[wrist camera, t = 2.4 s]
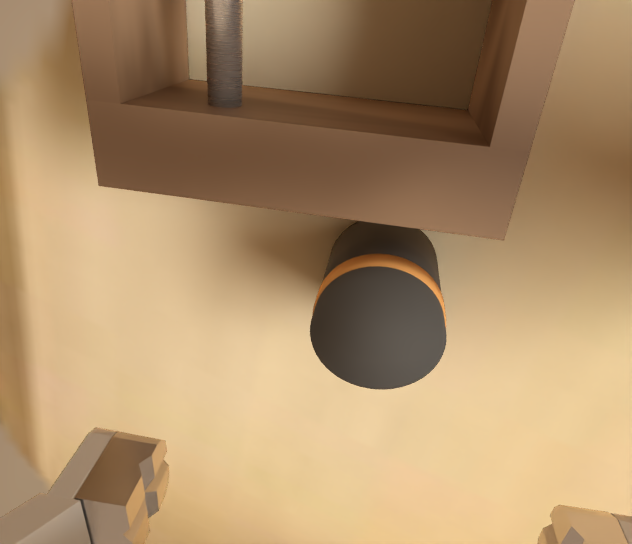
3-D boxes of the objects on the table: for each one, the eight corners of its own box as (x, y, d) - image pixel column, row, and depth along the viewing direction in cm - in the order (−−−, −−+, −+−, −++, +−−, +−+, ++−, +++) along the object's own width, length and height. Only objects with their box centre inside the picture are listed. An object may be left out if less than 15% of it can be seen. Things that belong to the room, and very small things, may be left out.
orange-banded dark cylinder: (426, 319, 21) (432, 400, 17) (324, 303, 22) (304, 378, 17) (449, 223, 19) (462, 288, 15) (333, 208, 19) (314, 267, 15)
